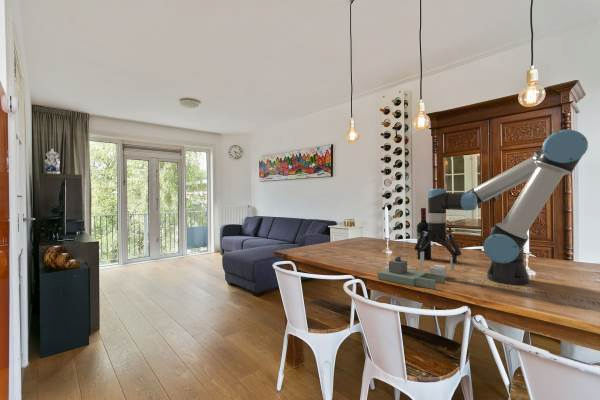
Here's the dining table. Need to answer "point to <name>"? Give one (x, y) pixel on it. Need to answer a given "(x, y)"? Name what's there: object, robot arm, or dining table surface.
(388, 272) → the stepped grey base
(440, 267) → the pale grey block
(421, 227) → the wine bottle
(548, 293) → the dining table surface
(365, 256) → the dining table surface
